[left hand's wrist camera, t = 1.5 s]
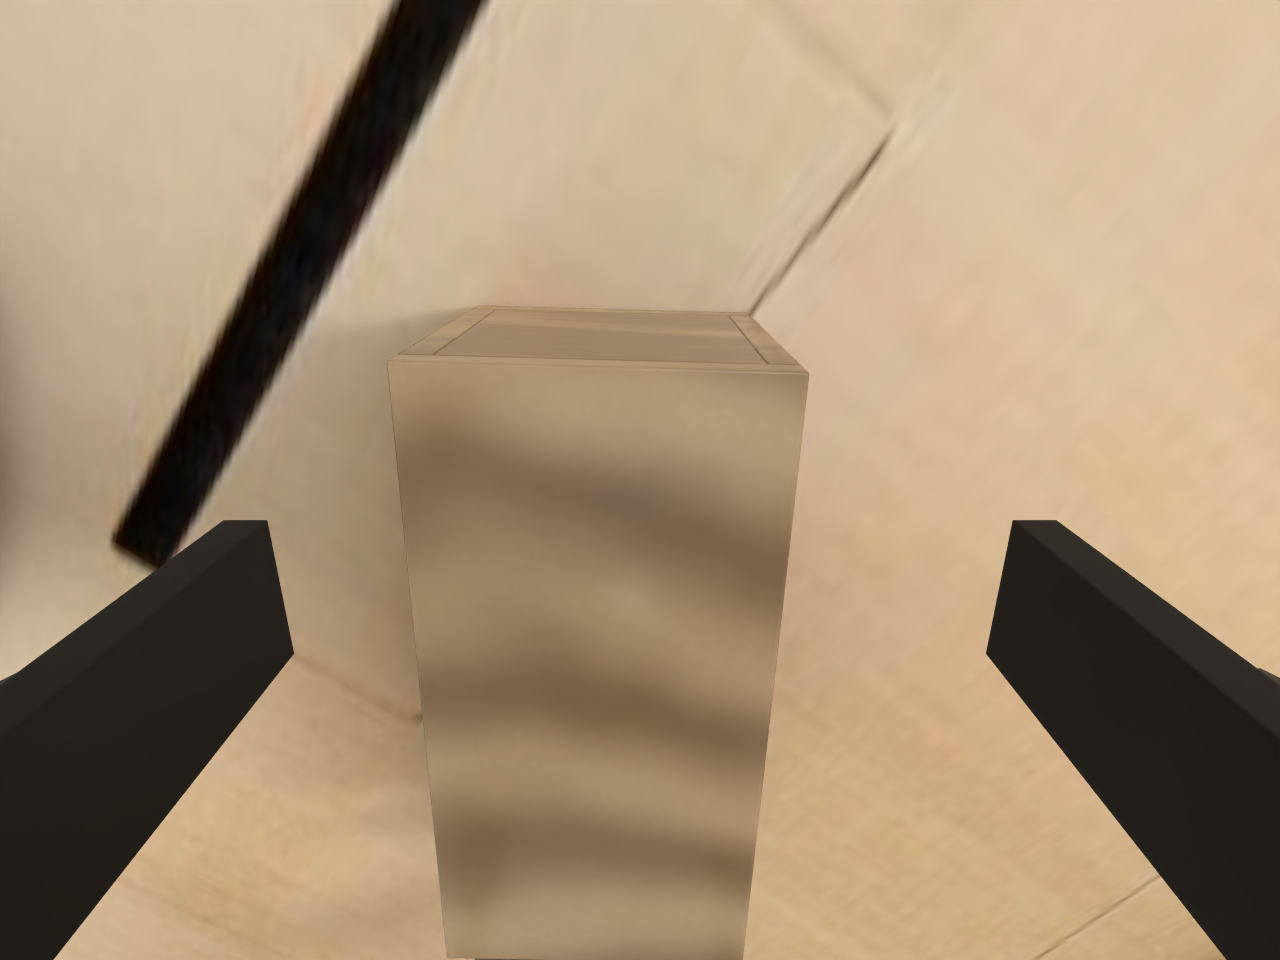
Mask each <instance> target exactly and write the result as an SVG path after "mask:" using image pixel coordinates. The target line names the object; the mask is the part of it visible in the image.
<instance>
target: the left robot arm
mask: <svg viewBox="0 0 1280 960" xmlns="http://www.w3.org/2000/svg"><path fill="white" fill-rule="evenodd" d="M293 654H294V651H293V646H292V641H291V636H290V631H289V626H288V621H287V616H286V611H285V607H284V602H283V597H282V592H281V587H280V582H279V577H278V572H277V567H276V562H275V557H274V552H273V547H272V542H271V537H270V532H269V527H268V522H267V520H223V521H222V522H221V523H219V524H218V525H217V526H215V527H214V528H213V529H211V530H210V531H209V532H207V533H206V534H204V535H203V536H202V537H200V538H199V539H198V540H196V541H195V542H194V543H192V544H191V545H190V546H188V547H187V548H185V549H184V550H183V551H181V552H180V553H179V554H177V555H176V556H175V557H173V558H172V559H171V560H169V561H168V562H167V563H165V564H164V565H162V566H161V567H160V568H158V569H157V570H156V571H154V572H153V573H152V574H150V575H149V576H148V577H146V578H145V579H143V580H142V581H141V582H139V583H138V584H137V585H135V586H134V587H133V588H131V589H130V590H129V591H127V592H126V593H125V594H123V595H122V596H120V597H119V598H118V599H116V600H115V601H114V602H112V603H111V604H110V605H108V606H107V607H106V608H104V609H103V610H101V611H100V612H99V613H97V614H96V615H95V616H93V617H92V618H91V619H89V620H88V621H87V622H85V623H84V624H83V625H81V626H80V627H78V628H77V629H76V630H74V631H73V632H72V633H70V634H69V635H68V636H66V637H65V638H64V639H62V640H61V641H59V642H58V643H57V644H55V645H54V646H53V647H51V648H50V649H49V650H47V651H46V652H45V653H43V654H42V655H41V656H39V657H38V658H36V659H35V660H34V661H32V662H31V663H30V664H28V665H27V666H26V667H24V668H23V669H22V670H20V671H19V672H17V673H15V674H13V675H11V676H9V677H7V678H5V679H3V680H1V681H0V960H54V958H55V957H56V956H57V955H58V953H59V952H60V951H61V949H62V948H63V947H64V946H65V944H66V943H67V942H68V941H69V939H70V938H71V937H72V935H73V934H74V933H75V932H76V930H77V929H78V928H79V927H80V925H81V924H82V923H83V921H84V920H85V919H86V918H87V916H88V915H89V914H90V913H91V911H92V910H93V909H94V907H95V906H96V905H97V904H98V902H99V901H100V900H101V899H102V897H103V896H104V895H105V893H106V892H107V891H108V890H109V888H110V887H111V886H112V885H113V883H114V882H115V881H116V879H117V878H118V877H119V876H120V874H121V873H122V872H123V871H124V869H125V868H126V867H127V865H128V864H129V863H130V862H131V860H132V859H133V858H134V857H135V855H136V854H137V853H138V851H139V850H140V849H141V848H142V846H143V845H144V844H145V843H146V841H147V840H148V839H149V837H150V836H151V835H152V834H153V832H154V831H155V830H156V829H157V827H158V826H159V825H160V823H161V822H162V821H163V820H164V818H165V817H166V816H167V815H168V813H169V812H170V811H171V809H172V808H173V807H174V806H175V804H176V803H177V802H178V801H179V799H180V798H181V797H182V795H183V794H184V793H185V792H186V790H187V789H188V788H189V787H190V785H191V784H192V783H193V781H194V780H195V779H196V778H197V776H198V775H199V774H200V773H201V771H202V770H203V769H204V767H205V766H206V765H207V764H208V762H209V761H210V760H211V758H212V757H213V756H214V755H215V753H216V752H217V751H218V750H219V748H220V747H221V746H222V744H223V743H224V742H225V741H226V739H227V738H228V737H229V736H230V734H231V733H232V732H233V730H234V729H235V728H236V727H237V725H238V724H239V723H240V722H241V720H242V719H243V718H244V716H245V715H246V714H247V713H248V711H249V710H250V709H251V708H252V706H253V705H254V704H255V702H256V701H257V700H258V699H259V697H260V696H261V695H262V694H263V692H264V691H265V690H266V688H267V687H268V686H269V685H270V683H271V682H272V681H273V680H274V678H275V677H276V676H277V674H278V673H279V672H280V671H281V669H282V668H283V667H284V666H285V664H286V663H287V662H288V660H289V659H290V658H291V657H292V655H293ZM986 654H987V655H988V657H989V658H990V659H991V660H992V662H993V663H994V664H995V666H996V667H997V668H998V669H999V671H1000V672H1001V673H1002V674H1003V676H1004V677H1005V678H1006V680H1007V681H1008V682H1009V683H1010V685H1011V686H1012V687H1013V688H1014V690H1015V691H1016V692H1017V694H1018V695H1019V696H1020V697H1021V699H1022V700H1023V701H1024V702H1025V704H1026V705H1027V706H1028V708H1029V709H1030V710H1031V711H1032V713H1033V714H1034V715H1035V716H1036V718H1037V719H1038V720H1039V722H1040V723H1041V724H1042V725H1043V727H1044V728H1045V729H1046V730H1047V732H1048V733H1049V734H1050V736H1051V737H1052V738H1053V739H1054V741H1055V742H1056V743H1057V744H1058V746H1059V747H1060V748H1061V750H1062V751H1063V752H1064V753H1065V755H1066V756H1067V757H1068V759H1069V760H1070V761H1071V762H1072V764H1073V765H1074V766H1075V767H1076V769H1077V770H1078V771H1079V773H1080V774H1081V775H1082V776H1083V778H1084V779H1085V780H1086V781H1087V783H1088V784H1089V785H1090V787H1091V788H1092V789H1093V790H1094V792H1095V793H1096V794H1097V795H1098V797H1099V798H1100V799H1101V801H1102V802H1103V803H1104V804H1105V806H1106V807H1107V808H1108V809H1109V811H1110V812H1111V813H1112V815H1113V816H1114V817H1115V818H1116V820H1117V821H1118V822H1119V823H1120V825H1121V826H1122V827H1123V829H1124V830H1125V831H1126V832H1127V834H1128V835H1129V836H1130V837H1131V839H1132V840H1133V841H1134V843H1135V844H1136V845H1137V846H1138V848H1139V849H1140V850H1141V851H1142V853H1143V854H1144V855H1145V857H1146V858H1147V859H1148V860H1149V862H1150V863H1151V864H1152V865H1153V867H1154V868H1155V869H1156V871H1157V872H1158V873H1159V874H1160V876H1161V877H1162V878H1163V879H1164V881H1165V882H1166V883H1167V885H1168V886H1169V887H1170V888H1171V890H1172V891H1173V892H1174V893H1175V895H1176V896H1177V897H1178V899H1179V900H1180V901H1181V902H1182V904H1183V905H1184V906H1185V907H1186V909H1187V910H1188V911H1189V913H1190V914H1191V915H1192V916H1193V918H1194V919H1195V920H1196V921H1197V923H1198V924H1199V925H1200V927H1201V928H1202V929H1203V930H1204V932H1205V933H1206V934H1207V935H1208V937H1209V938H1210V939H1211V941H1212V942H1213V943H1214V944H1215V946H1216V947H1217V948H1218V949H1219V951H1220V952H1221V953H1222V955H1223V956H1224V957H1225V958H1226V960H1280V678H1279V677H1277V676H1275V675H1273V674H1271V673H1269V672H1267V671H1265V670H1263V669H1261V668H1256V667H1254V666H1253V665H1252V664H1250V663H1249V662H1248V661H1246V660H1245V659H1244V658H1242V657H1241V656H1239V655H1238V654H1237V653H1235V652H1234V651H1233V650H1231V649H1230V648H1229V647H1227V646H1226V645H1225V644H1223V643H1222V642H1221V641H1219V640H1218V639H1216V638H1215V637H1214V636H1212V635H1211V634H1210V633H1208V632H1207V631H1206V630H1204V629H1203V628H1202V627H1200V626H1199V625H1197V624H1196V623H1195V622H1193V621H1192V620H1191V619H1189V618H1188V617H1187V616H1185V615H1184V614H1183V613H1181V612H1180V611H1179V610H1177V609H1176V608H1174V607H1173V606H1172V605H1170V604H1169V603H1168V602H1166V601H1165V600H1164V599H1162V598H1161V597H1160V596H1158V595H1157V594H1155V593H1154V592H1153V591H1151V590H1150V589H1149V588H1147V587H1146V586H1145V585H1143V584H1142V583H1141V582H1139V581H1138V580H1137V579H1135V578H1134V577H1132V576H1131V575H1130V574H1128V573H1127V572H1126V571H1124V570H1123V569H1122V568H1120V567H1119V566H1118V565H1116V564H1115V563H1113V562H1112V561H1111V560H1109V559H1108V558H1107V557H1105V556H1104V555H1103V554H1101V553H1100V552H1099V551H1097V550H1096V549H1095V548H1093V547H1092V546H1090V545H1089V544H1088V543H1086V542H1085V541H1084V540H1082V539H1081V538H1080V537H1078V536H1077V535H1076V534H1074V533H1073V532H1071V531H1070V530H1069V529H1067V528H1066V527H1065V526H1063V525H1062V524H1061V523H1059V522H1058V521H1057V520H1013V522H1012V527H1011V532H1010V537H1009V542H1008V547H1007V552H1006V557H1005V562H1004V567H1003V572H1002V577H1001V582H1000V587H999V592H998V597H997V602H996V607H995V611H994V616H993V621H992V626H991V631H990V636H989V641H988V646H987V651H986Z"/></svg>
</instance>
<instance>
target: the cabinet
mask: <svg viewBox="0 0 1280 960" xmlns="http://www.w3.org/2000/svg"><path fill="white" fill-rule="evenodd" d="M387 369H388V379H389V389H390V399H391V409H392V418H393V428H394V438H395V448H396V458H397V468H398V478H399V488H400V498H401V507H402V517H403V527H404V537H405V547H406V557H407V567H408V577H409V586H410V596H411V606H412V616H413V626H414V636H415V646H416V656H417V666H418V675H419V685H420V695H421V705H422V715H423V725H424V735H425V745H426V755H427V764H428V774H429V784H430V794H431V804H432V814H433V824H434V834H435V843H436V853H437V863H438V873H439V883H440V893H441V903H442V913H443V923H444V932H445V942H446V952H447V958H479V959H533V960H743V952H744V944H745V935H746V926H747V917H748V908H749V900H750V891H751V882H752V873H753V864H754V856H755V847H756V838H757V829H758V820H759V812H760V803H761V794H762V785H763V776H764V768H765V759H766V750H767V741H768V732H769V724H770V715H771V706H772V697H773V688H774V680H775V671H776V662H777V653H778V644H779V636H780V627H781V618H782V609H783V600H784V592H785V583H786V574H787V565H788V556H789V548H790V539H791V530H792V521H793V512H794V504H795V495H796V486H797V477H798V468H799V460H800V451H801V442H802V433H803V424H804V416H805V407H806V398H807V389H808V380H809V372H808V371H807V370H806V369H805V368H804V367H803V366H801V365H800V364H799V363H798V362H797V361H796V360H795V359H794V358H793V357H792V356H791V355H790V354H789V353H788V352H787V351H786V350H785V349H784V348H783V347H782V346H781V345H780V344H779V343H778V342H777V341H776V340H775V339H774V338H773V337H772V336H771V335H770V334H769V333H768V332H767V331H766V330H765V329H764V328H762V327H761V326H760V325H759V324H758V323H757V322H756V321H755V320H754V319H753V318H752V317H751V316H750V315H749V314H747V313H723V312H686V311H650V310H613V309H577V308H540V307H504V306H478V307H476V308H474V309H472V310H470V311H468V312H467V313H465V314H464V315H462V316H460V317H459V318H457V319H455V320H454V321H452V322H450V323H449V324H447V325H445V326H444V327H442V328H441V329H439V330H437V331H436V332H434V333H432V334H431V335H429V336H427V337H426V338H424V339H422V340H421V341H419V342H418V343H416V344H414V345H413V346H411V347H409V348H408V349H406V350H404V351H403V352H401V353H399V354H398V355H397V356H395V357H393V358H392V359H390V360H388V361H387Z"/></svg>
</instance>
